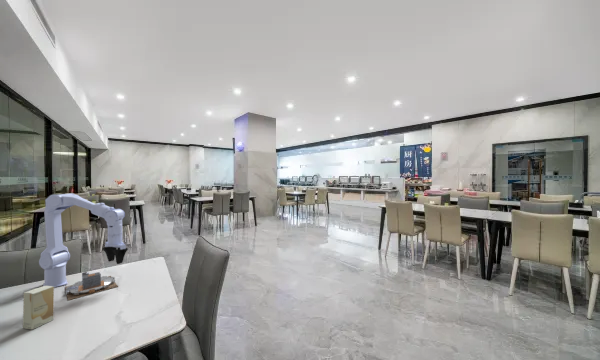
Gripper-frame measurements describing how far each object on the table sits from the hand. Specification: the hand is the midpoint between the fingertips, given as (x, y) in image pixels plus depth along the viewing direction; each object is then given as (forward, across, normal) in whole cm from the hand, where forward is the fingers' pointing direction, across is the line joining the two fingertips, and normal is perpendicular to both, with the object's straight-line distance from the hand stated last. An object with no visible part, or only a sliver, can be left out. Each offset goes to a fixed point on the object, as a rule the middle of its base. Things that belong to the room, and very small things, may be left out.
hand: (115, 262), depth 116 cm
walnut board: (+10, -6, -7) cm, 14 cm away
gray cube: (+9, -2, -8) cm, 12 cm away
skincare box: (+11, +13, -30) cm, 34 cm away
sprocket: (+10, -6, -7) cm, 14 cm away
